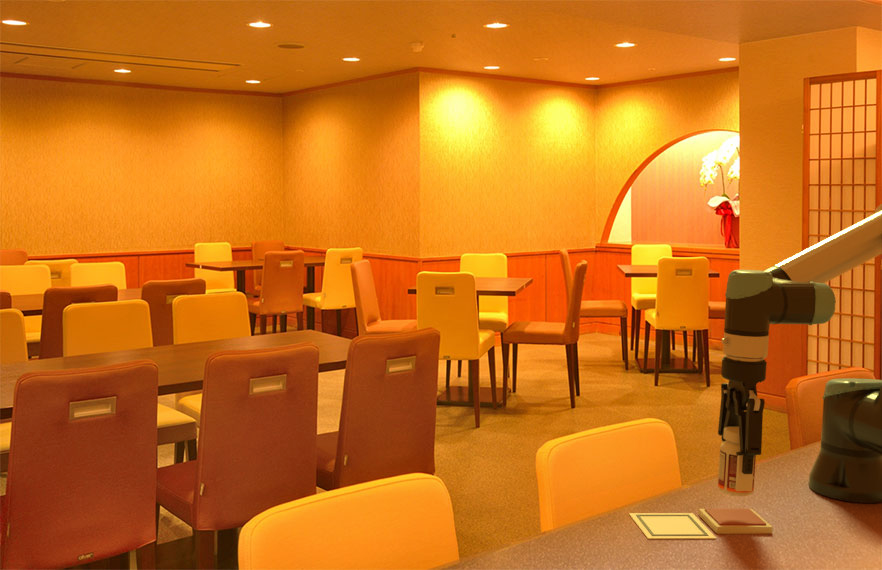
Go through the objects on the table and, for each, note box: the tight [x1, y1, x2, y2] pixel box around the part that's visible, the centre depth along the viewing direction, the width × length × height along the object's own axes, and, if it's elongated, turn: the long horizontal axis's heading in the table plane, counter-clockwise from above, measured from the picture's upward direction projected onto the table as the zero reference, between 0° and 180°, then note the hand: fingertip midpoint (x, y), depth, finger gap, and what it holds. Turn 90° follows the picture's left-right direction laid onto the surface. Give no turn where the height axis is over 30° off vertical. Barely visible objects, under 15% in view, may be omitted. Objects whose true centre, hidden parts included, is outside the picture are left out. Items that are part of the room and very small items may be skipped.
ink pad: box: [698, 508, 773, 535], centre depth 163 cm, size 10×9×2 cm
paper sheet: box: [628, 512, 717, 540], centre depth 161 cm, size 12×12×1 cm
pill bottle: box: [717, 426, 757, 497], centre depth 161 cm, size 6×6×11 cm
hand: (736, 483), depth 162 cm, fingers closed on pill bottle, 6 cm apart
